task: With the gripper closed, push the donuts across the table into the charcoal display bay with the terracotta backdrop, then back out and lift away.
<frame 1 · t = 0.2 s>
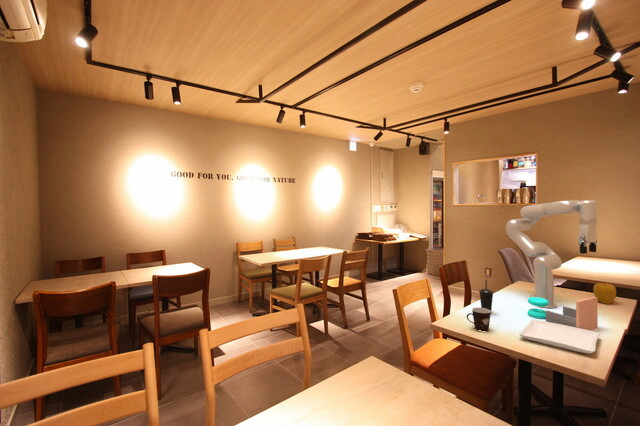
hand: (588, 252, 174), 36 cm above the table, tool pointing down, fingers open, 9 cm apart
display bay: (569, 325, 163), on the table
donuts: (538, 316, 178), on the table
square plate: (559, 340, 147), on the table
coffee mug: (478, 329, 161), on the table
apple: (604, 303, 199), on the table
drinking cup: (486, 313, 184), on the table
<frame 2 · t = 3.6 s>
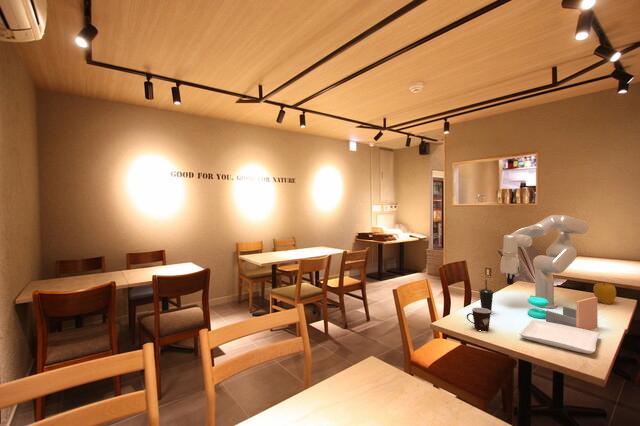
hand: (510, 284, 192), 15 cm above the table, tool pointing down, fingers closed
nothing on the table moved.
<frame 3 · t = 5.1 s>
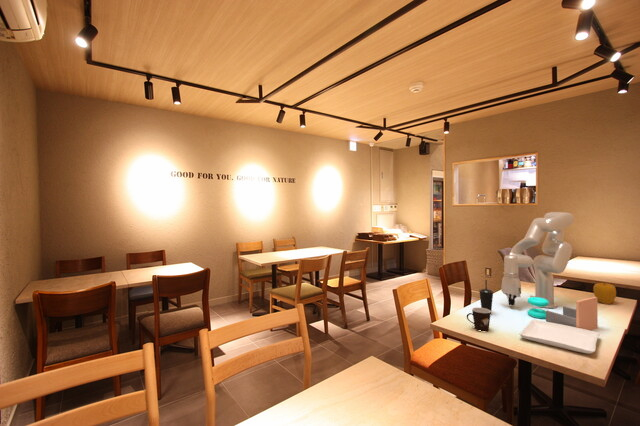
hand: (511, 304, 192), 2 cm above the table, tool pointing down, fingers closed
nothing on the table moved.
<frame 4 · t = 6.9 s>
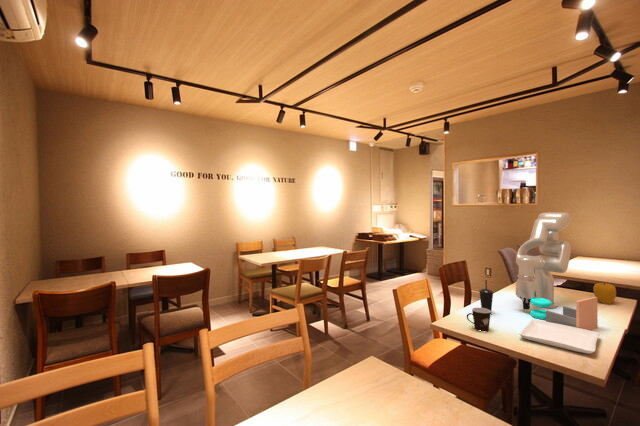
hand: (526, 309, 184), 2 cm above the table, tool pointing down, fingers closed
donuts: (541, 317, 176), on the table, touching gripper
everything else where it was.
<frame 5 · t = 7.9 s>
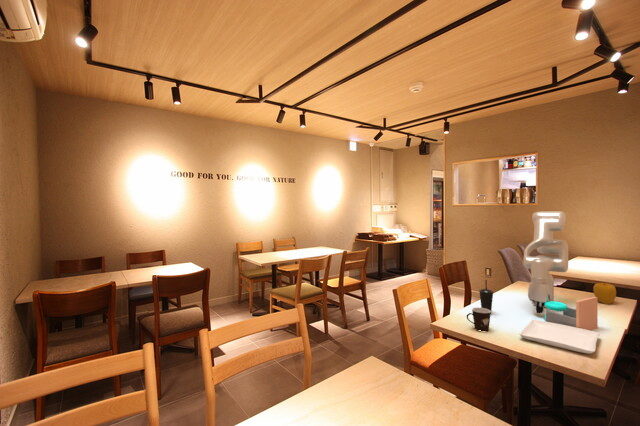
hand: (539, 312, 177), 2 cm above the table, tool pointing down, fingers closed
donuts: (555, 321, 169), on the table, touching gripper
everything else where it was.
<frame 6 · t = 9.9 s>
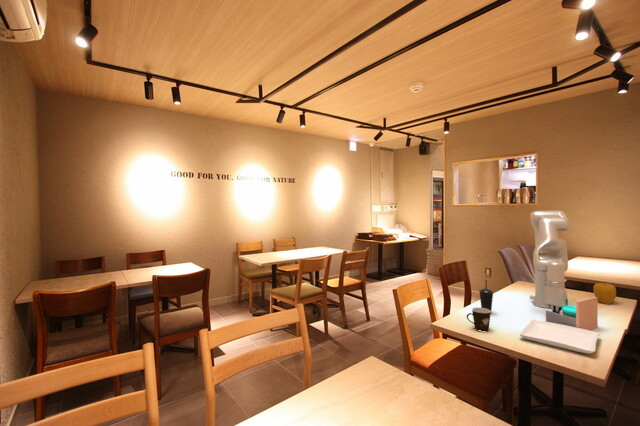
hand: (556, 317, 169), 2 cm above the table, tool pointing down, fingers closed
donuts: (573, 326, 162), on the table, touching gripper
everything else where it was.
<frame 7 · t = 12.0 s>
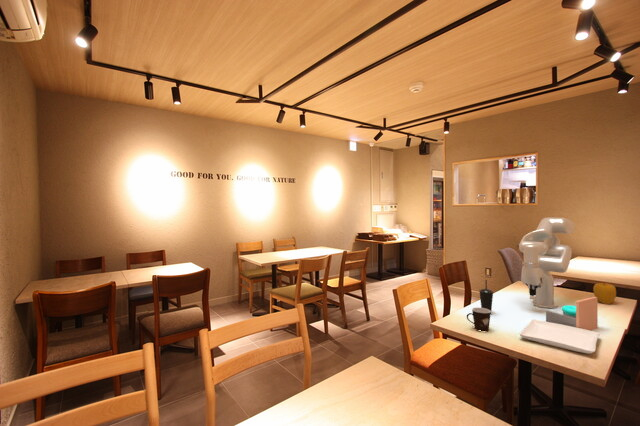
hand: (532, 295, 184), 10 cm above the table, tool pointing down, fingers closed
donuts: (573, 327, 162), on the table
everything else where it was.
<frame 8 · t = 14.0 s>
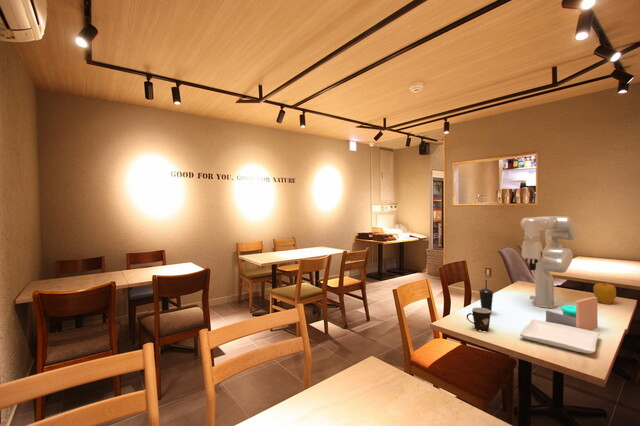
hand: (532, 269, 185), 25 cm above the table, tool pointing down, fingers closed
nothing on the table moved.
at the end: donuts inside the target area on the display bay (2.1 cm from its centre), point 0.0 cm above the display bay's base; donuts tilted 0°; donuts moved 17.6 cm from its start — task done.
